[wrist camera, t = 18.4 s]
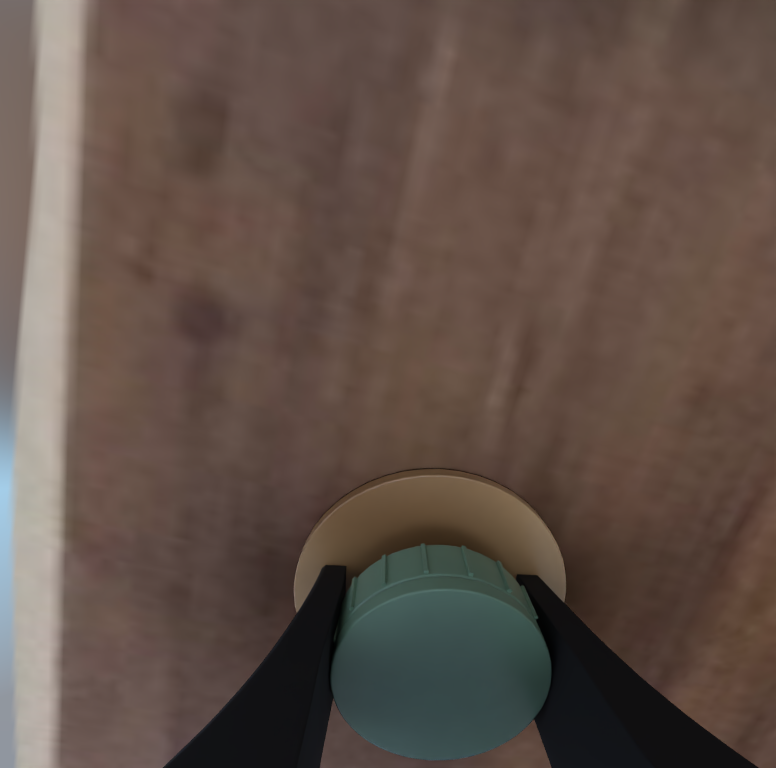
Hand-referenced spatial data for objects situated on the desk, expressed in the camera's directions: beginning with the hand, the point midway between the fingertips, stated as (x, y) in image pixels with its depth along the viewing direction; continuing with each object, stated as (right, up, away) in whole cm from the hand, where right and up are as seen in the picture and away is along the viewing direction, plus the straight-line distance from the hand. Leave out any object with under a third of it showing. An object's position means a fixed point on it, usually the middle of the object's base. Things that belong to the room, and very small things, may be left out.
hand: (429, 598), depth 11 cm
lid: (0, 0, -2) cm, 2 cm away
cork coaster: (0, 0, 0) cm, 0 cm away
